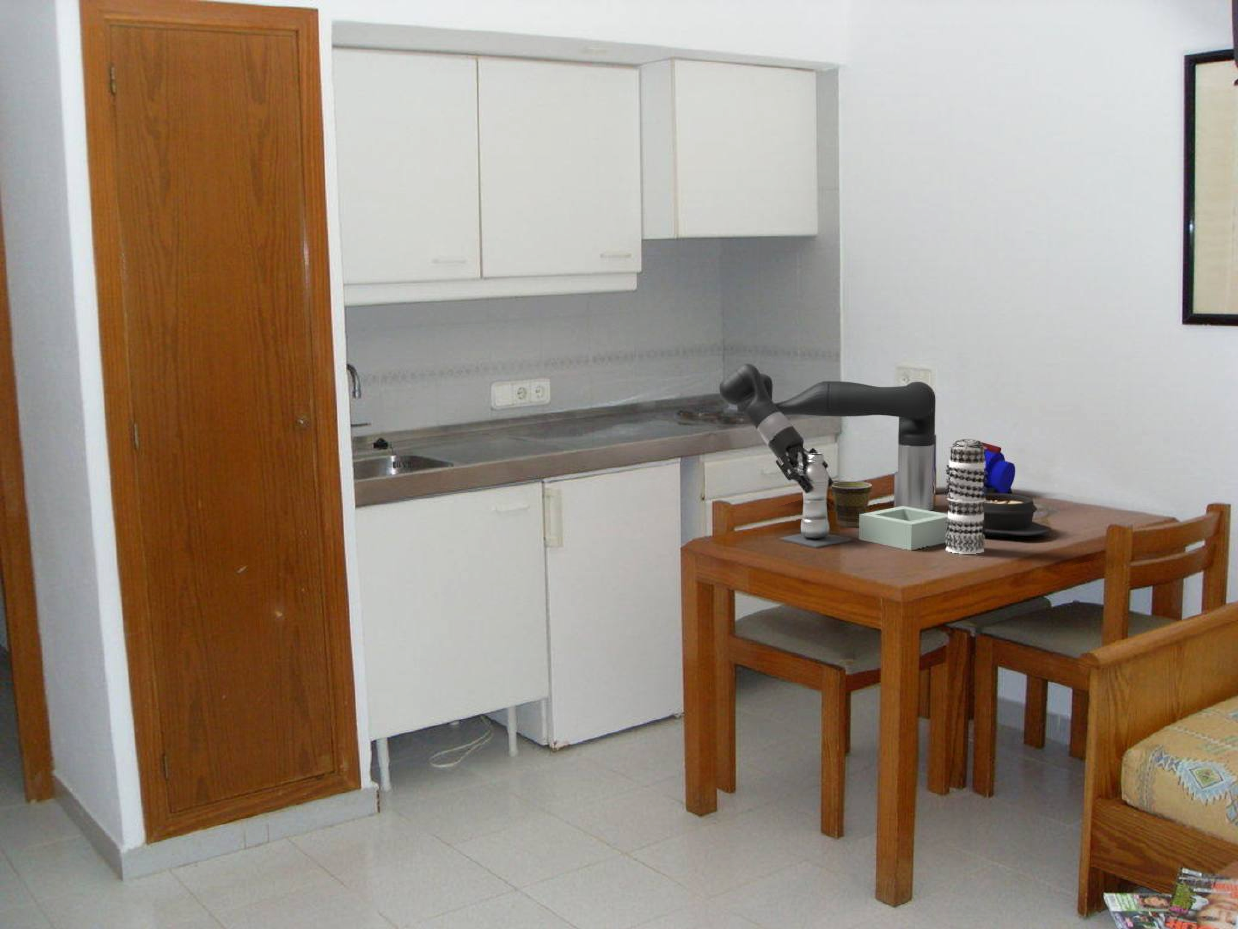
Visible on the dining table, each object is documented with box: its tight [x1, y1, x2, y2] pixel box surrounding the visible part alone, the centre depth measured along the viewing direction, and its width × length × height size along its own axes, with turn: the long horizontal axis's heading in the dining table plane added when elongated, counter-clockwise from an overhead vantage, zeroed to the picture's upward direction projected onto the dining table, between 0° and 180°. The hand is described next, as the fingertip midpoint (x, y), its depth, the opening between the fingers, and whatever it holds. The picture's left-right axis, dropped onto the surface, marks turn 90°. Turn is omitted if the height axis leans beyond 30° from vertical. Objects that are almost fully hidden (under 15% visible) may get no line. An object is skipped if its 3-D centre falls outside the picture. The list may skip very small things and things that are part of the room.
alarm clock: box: [981, 441, 1016, 494], centre depth 357 cm, size 12×12×15 cm
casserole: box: [982, 493, 1052, 538], centre depth 310 cm, size 25×19×8 cm
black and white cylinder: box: [945, 438, 988, 555], centre depth 291 cm, size 9×9×25 cm
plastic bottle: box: [800, 452, 830, 539], centre depth 304 cm, size 6×7×20 cm
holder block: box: [858, 506, 949, 551], centre depth 304 cm, size 16×16×6 cm
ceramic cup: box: [827, 480, 873, 528], centre depth 322 cm, size 13×10×10 cm
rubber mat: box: [778, 533, 853, 549], centre depth 305 cm, size 12×12×1 cm
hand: (820, 488), depth 302 cm, fingers open, 8 cm apart
